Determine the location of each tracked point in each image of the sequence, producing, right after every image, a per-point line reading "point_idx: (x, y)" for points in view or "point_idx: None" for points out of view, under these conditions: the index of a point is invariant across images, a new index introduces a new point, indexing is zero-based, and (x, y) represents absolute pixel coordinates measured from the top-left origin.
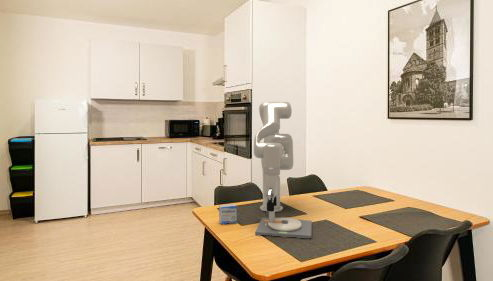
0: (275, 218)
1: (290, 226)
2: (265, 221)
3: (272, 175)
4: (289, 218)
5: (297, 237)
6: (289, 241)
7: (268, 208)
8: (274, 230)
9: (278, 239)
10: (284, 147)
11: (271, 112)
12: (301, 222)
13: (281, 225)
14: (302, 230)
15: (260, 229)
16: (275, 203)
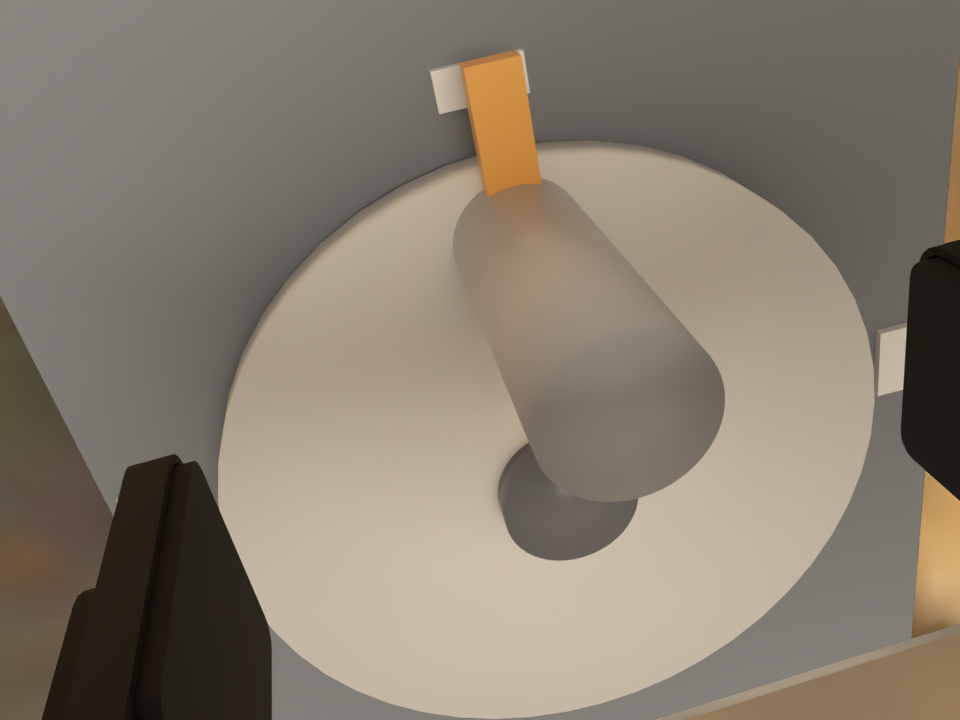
0: (782, 228)
1: (401, 626)
2: (468, 102)
3: None
4: (832, 469)
5: None
6: (40, 646)
7: (72, 618)
8: (222, 378)
9: (9, 495)
10: None
11: None
12: (793, 597)
13: (381, 491)
14: (440, 717)
15: (109, 84)
16: (954, 478)
